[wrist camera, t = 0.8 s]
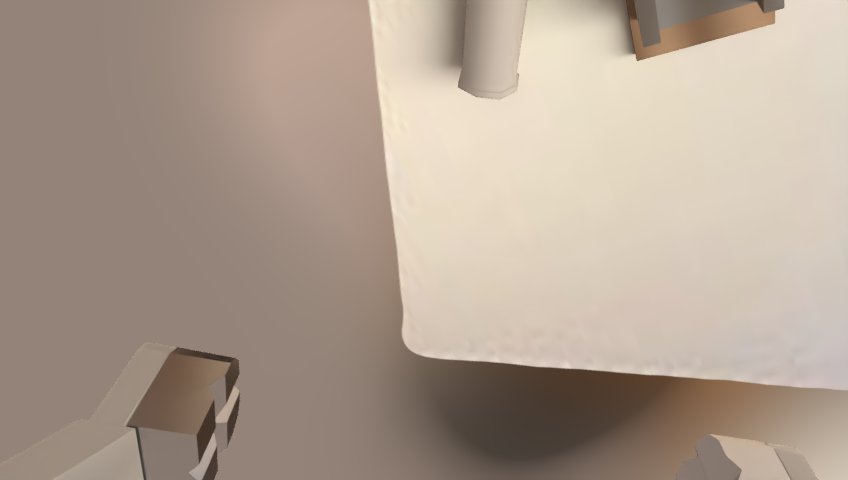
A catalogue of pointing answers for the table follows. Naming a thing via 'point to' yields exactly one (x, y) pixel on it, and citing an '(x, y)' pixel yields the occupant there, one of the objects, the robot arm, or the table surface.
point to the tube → (492, 47)
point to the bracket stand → (693, 22)
